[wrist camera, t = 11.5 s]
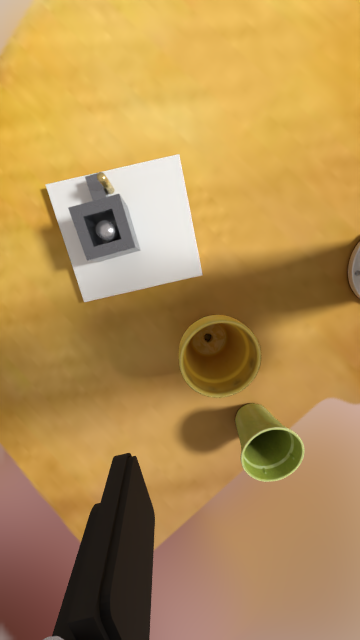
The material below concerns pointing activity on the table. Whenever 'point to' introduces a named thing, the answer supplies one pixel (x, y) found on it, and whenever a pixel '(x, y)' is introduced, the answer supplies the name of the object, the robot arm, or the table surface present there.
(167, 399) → the table surface
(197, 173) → the table surface
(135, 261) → the board
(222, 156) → the table surface
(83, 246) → the grey socket block
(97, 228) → the steel post
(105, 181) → the brass dowel
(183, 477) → the table surface
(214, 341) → the plant pot
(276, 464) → the plant pot
